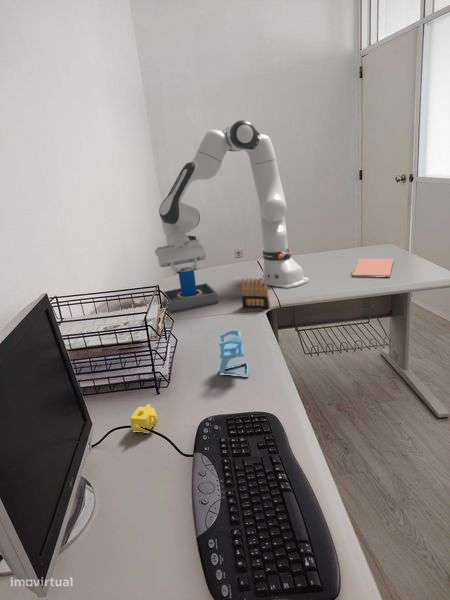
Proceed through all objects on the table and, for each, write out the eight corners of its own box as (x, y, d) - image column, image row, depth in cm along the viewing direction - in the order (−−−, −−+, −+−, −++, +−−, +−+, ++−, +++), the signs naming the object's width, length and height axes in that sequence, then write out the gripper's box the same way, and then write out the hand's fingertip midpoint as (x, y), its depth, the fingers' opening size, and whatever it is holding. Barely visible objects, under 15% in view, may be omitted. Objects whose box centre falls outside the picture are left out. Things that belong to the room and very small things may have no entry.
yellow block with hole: (151, 442, 90) (147, 422, 88) (128, 439, 91) (123, 420, 90) (165, 419, 97) (162, 401, 95) (143, 418, 99) (140, 399, 97)
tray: (164, 301, 178) (162, 291, 176) (208, 292, 183) (206, 283, 181) (171, 313, 163) (169, 302, 162) (218, 303, 169) (217, 292, 167)
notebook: (357, 261, 205) (357, 257, 204) (393, 262, 198) (393, 258, 197) (349, 278, 182) (349, 274, 181) (389, 279, 175) (389, 274, 174)
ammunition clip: (270, 307, 158) (267, 277, 154) (268, 309, 156) (266, 279, 152) (244, 306, 162) (241, 277, 158) (242, 308, 160) (239, 279, 156)
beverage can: (182, 294, 175) (178, 267, 171) (196, 292, 176) (193, 265, 171) (182, 299, 169) (178, 272, 165) (197, 297, 170) (193, 270, 165)
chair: (220, 366, 118) (215, 328, 114) (248, 363, 118) (244, 326, 114) (219, 380, 111) (213, 340, 107) (249, 377, 111) (245, 338, 107)
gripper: (154, 243, 168) (161, 271, 162) (201, 235, 173) (210, 262, 168) (154, 252, 174) (161, 279, 168) (200, 244, 179) (208, 270, 173)
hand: (186, 271), depth 168 cm, fingers closed on beverage can, 6 cm apart
